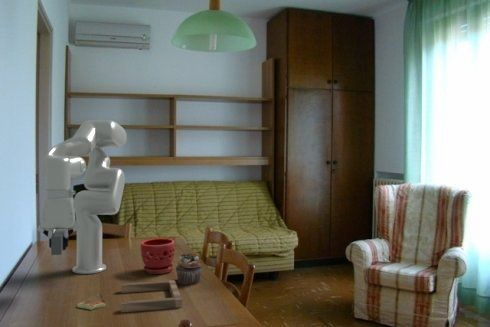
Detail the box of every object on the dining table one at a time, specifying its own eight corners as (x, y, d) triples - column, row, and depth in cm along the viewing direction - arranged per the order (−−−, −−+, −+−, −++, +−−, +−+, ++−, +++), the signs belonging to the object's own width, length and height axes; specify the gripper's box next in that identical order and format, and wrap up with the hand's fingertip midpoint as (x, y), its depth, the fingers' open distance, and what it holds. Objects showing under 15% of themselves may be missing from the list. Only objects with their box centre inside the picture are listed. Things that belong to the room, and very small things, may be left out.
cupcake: (207, 281, 162) (207, 254, 162) (187, 287, 155) (187, 258, 154) (190, 276, 168) (190, 250, 168) (170, 281, 161) (170, 254, 161)
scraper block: (56, 246, 152) (56, 229, 151) (65, 246, 153) (65, 228, 152) (51, 255, 140) (51, 236, 140) (61, 254, 141) (61, 236, 141)
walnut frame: (120, 291, 149) (120, 283, 149) (174, 287, 154) (174, 280, 154) (121, 312, 130) (121, 304, 130) (182, 307, 135) (182, 299, 135)
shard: (100, 297, 144) (100, 292, 144) (119, 301, 141) (119, 295, 141) (76, 308, 134) (76, 302, 134) (96, 312, 131) (96, 306, 131)
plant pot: (156, 265, 183) (156, 236, 183) (181, 270, 176) (181, 240, 176) (133, 272, 172) (133, 242, 171) (159, 278, 165) (159, 246, 165)
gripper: (85, 192, 151) (85, 245, 152) (33, 193, 147) (34, 248, 148) (83, 195, 144) (84, 250, 145) (29, 196, 140) (29, 253, 141)
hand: (58, 248), depth 146 cm, fingers closed on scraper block, 3 cm apart
